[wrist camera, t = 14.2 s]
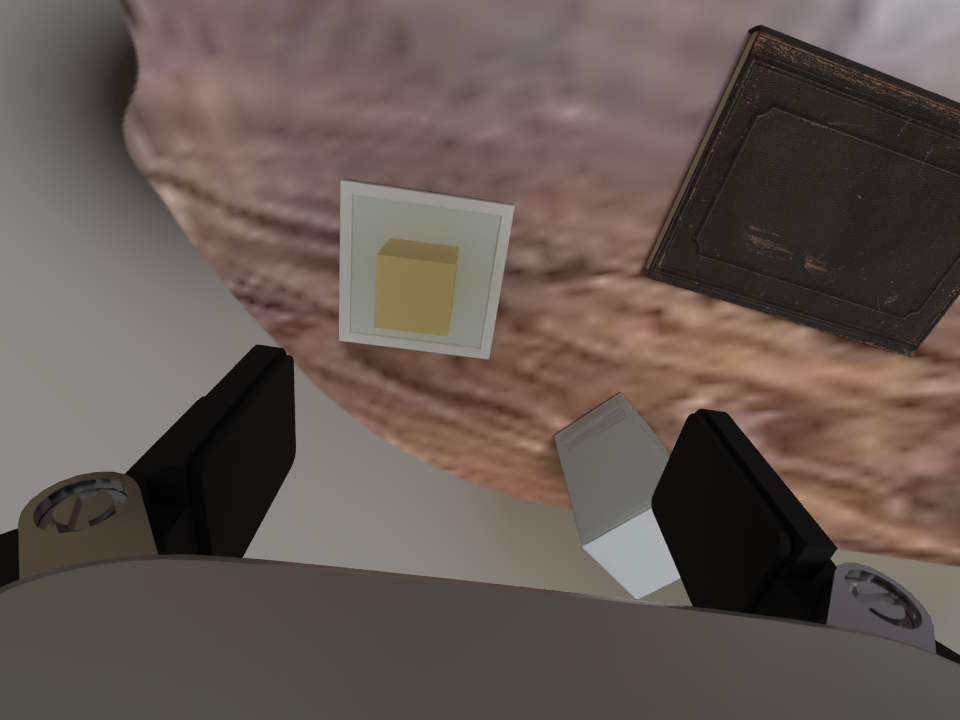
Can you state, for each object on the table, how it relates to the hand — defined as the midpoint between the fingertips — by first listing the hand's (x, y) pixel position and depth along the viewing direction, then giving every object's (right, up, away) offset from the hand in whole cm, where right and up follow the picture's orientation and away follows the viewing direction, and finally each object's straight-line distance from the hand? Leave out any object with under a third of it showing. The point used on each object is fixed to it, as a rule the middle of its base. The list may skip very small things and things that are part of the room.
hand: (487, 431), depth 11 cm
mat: (-5, +8, +25) cm, 26 cm away
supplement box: (+11, -5, +32) cm, 34 cm away
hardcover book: (+25, +13, +23) cm, 37 cm away
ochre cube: (-5, +8, +24) cm, 26 cm away
